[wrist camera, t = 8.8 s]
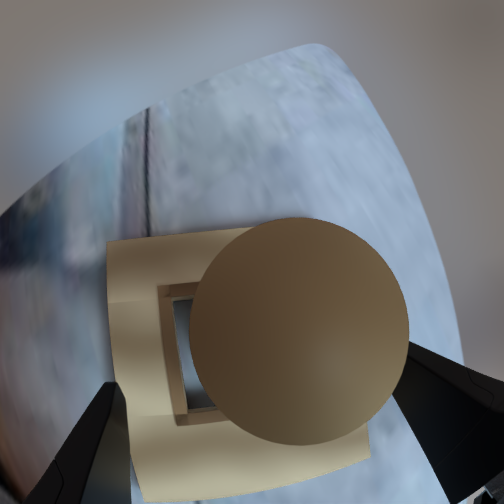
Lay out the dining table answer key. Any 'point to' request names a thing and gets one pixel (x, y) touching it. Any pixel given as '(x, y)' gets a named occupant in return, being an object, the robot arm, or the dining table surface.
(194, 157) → the dining table surface
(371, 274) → the peg
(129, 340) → the socket board
